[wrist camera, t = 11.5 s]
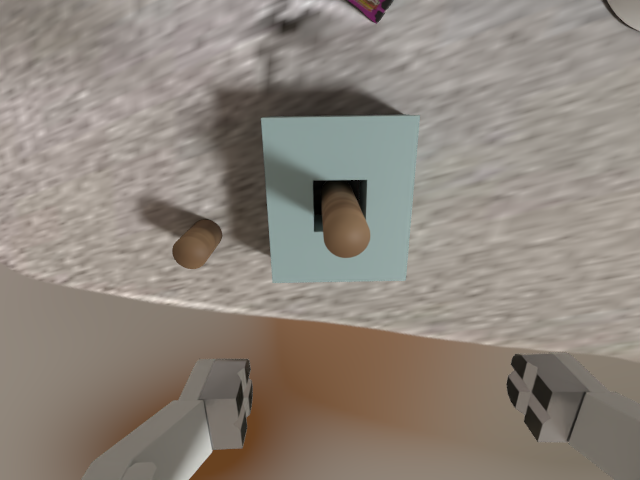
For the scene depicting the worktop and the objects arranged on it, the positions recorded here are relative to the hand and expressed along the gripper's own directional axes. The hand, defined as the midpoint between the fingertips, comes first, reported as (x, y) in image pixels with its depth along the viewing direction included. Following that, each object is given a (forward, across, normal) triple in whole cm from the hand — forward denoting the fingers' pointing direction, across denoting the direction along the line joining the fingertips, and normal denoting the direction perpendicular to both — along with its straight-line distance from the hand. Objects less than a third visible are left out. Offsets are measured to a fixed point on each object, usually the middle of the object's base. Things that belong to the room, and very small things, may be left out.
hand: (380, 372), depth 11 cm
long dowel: (+24, 0, 0) cm, 24 cm away
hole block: (+24, 0, 0) cm, 24 cm away
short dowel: (+24, +13, +4) cm, 28 cm away
